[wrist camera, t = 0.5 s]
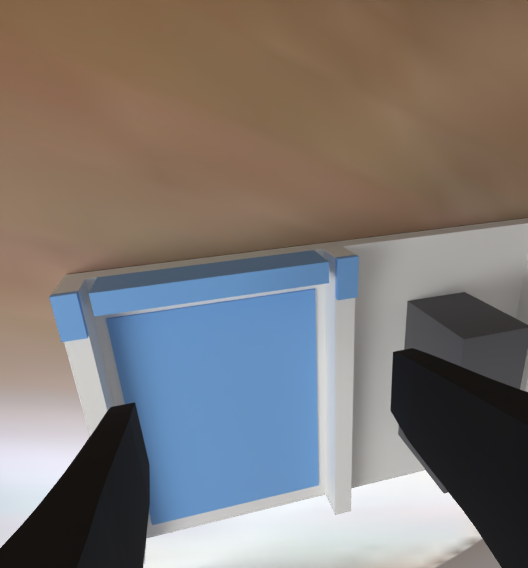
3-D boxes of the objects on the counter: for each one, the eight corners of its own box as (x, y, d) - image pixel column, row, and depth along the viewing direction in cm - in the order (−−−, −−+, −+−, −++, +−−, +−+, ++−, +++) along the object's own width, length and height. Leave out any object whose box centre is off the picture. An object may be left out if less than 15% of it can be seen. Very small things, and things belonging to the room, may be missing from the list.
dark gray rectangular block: (448, 423, 26) (502, 478, 21) (398, 434, 25) (443, 493, 21) (464, 291, 22) (532, 327, 18) (407, 300, 22) (463, 339, 18)
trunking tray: (493, 440, 29) (528, 472, 26) (129, 527, 24) (124, 577, 21) (533, 217, 23) (583, 228, 20) (65, 274, 18) (47, 299, 15)
